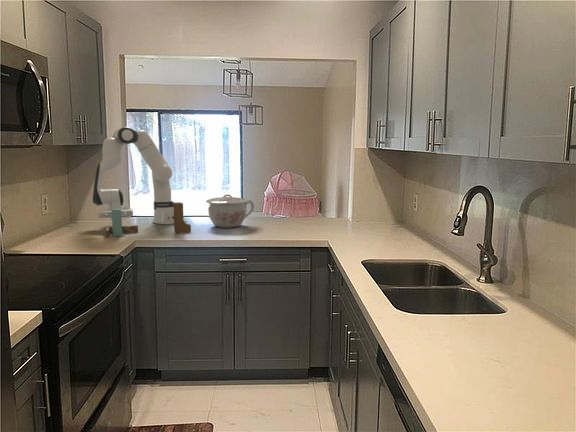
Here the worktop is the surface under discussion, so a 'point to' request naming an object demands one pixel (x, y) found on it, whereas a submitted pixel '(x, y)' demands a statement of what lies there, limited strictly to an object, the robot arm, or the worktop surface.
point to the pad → (117, 236)
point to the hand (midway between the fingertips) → (116, 215)
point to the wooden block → (180, 219)
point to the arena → (124, 230)
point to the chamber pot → (228, 211)
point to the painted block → (116, 222)
